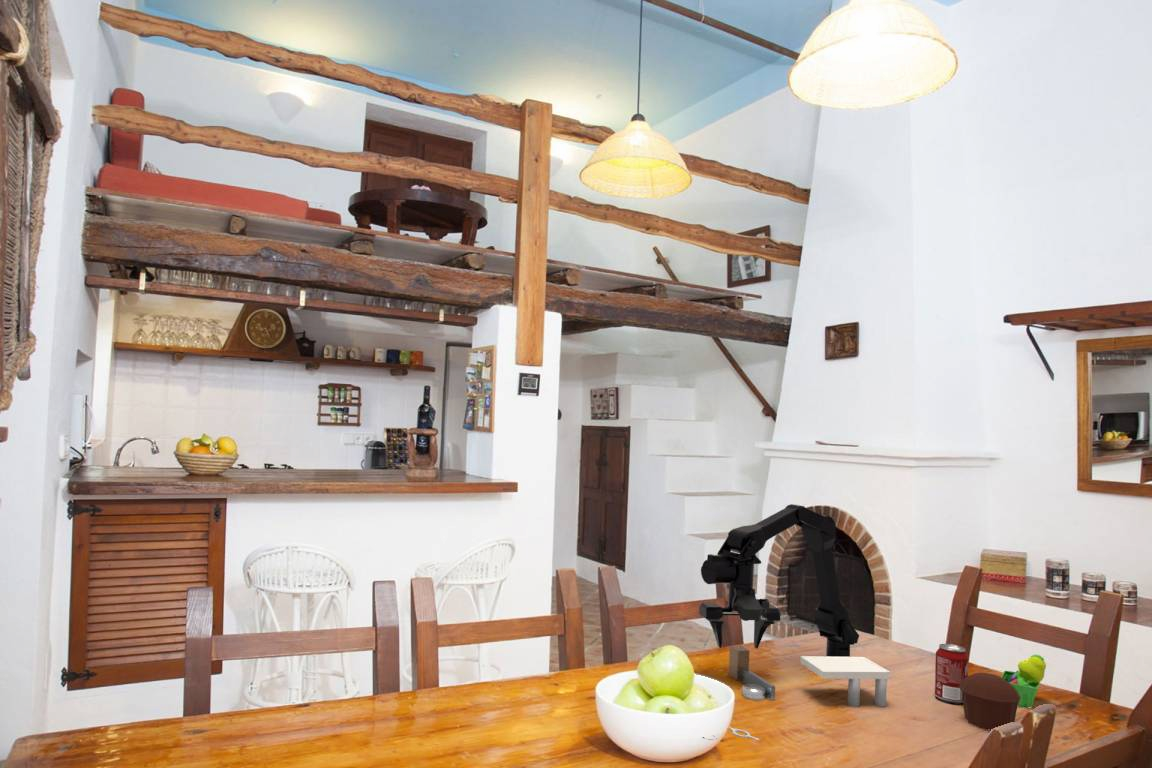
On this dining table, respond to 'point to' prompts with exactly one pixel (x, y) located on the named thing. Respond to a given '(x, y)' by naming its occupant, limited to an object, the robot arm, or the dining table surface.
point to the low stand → (850, 674)
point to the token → (753, 692)
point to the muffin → (988, 700)
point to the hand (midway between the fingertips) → (737, 647)
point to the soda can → (950, 672)
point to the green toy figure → (1027, 679)
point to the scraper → (747, 670)
